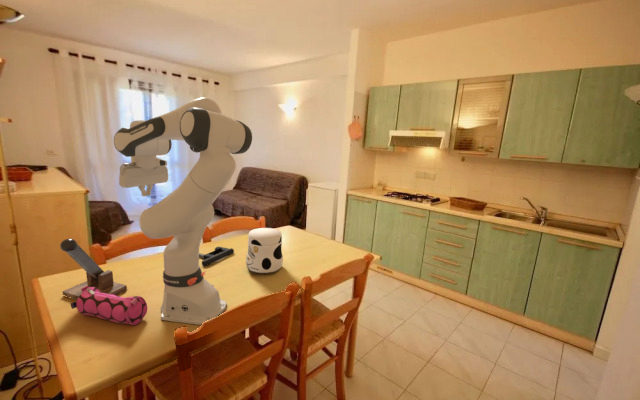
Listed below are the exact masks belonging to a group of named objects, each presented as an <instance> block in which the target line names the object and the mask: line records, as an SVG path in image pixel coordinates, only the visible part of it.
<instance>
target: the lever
mask: <svg viewBox="0 0 640 400" xmlns="http://www.w3.org/2000/svg"><path fill="white" fill-rule="evenodd" d="M59 247H60V249H61V250H62V251H63V252H65V253H66V254H67V255H68V256H69V257H70V258H72V260H73V261H75V263H76V264H78V265H79V266H80V267H81V268H82V269H83V270H84V271H85V273H86V272H87V273H88V274H89V275H90V276H91V277H92V278H93V279H94V280H95V281H98V274H101V273H103V272H105V271H104V270H103V269H102V268H101V267H100V266H99V265H98V263H96V261H94V260H93V259H92V258H91V256H90V255H89V254H88V253H86V251H85V250H84V249H83V248H82V247H81V246H80V245H79V244H78V242H77V241H76V240H75V239H73V238H66V239H63V240H62V241H61V242H60V245H59ZM98 282H99V281H98Z"/></svg>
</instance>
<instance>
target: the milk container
mask: <svg viewBox="0 0 640 400" xmlns="http://www.w3.org/2000/svg"><path fill="white" fill-rule="evenodd" d="M247 239H248V240H247V247H248V248H247V254H246V257H245V264H246V267H247V269H248V270H249V272H251V273H255V274H261V275H262V274H263V275H266V274H267V275H268V274H272V273H275V272H278V271H279V270H280V269H281V267H282V266H283V263H284V262H283V261H284V255H283V253H282V243H283V242H282V239H283V238H282V231H280V230H279V229H276V228H272V227H259V228H254V229H251V230H250V231H249V232H248V235H247Z"/></svg>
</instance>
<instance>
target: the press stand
mask: <svg viewBox="0 0 640 400" xmlns="http://www.w3.org/2000/svg"><path fill="white" fill-rule="evenodd" d="M85 273H86V281H84V282H82V283H79V284H76V285H74V286H72V287H70V288H67V289H65V290H63V291H62V296H63V295H65V296H67V297H71V298H73V299H76V300H75V301H77V299H78V297H79V296H80V294H81V293H83V292H82V290H81V288H83V287H85V286H88V287H95V288H97V289H98V290H99V291H100V292H101V293H108V294H113V295H116V296H119V295H120V294H122V293H124V292H126V291H127V290H128V287H127V284H123V283H119V282H117V281H116V282H115V281H114V274H113V270H109V269H108V270H106V271H104V272H103V273H101V274H98V281H99V282H98V281H95V280H94V279H93V278H92V277H91V276H90V275H89V274H88V273H87V272H86V271H85ZM67 297H66V298H67ZM73 299H72V300H73Z"/></svg>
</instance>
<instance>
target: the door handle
mask: <svg viewBox="0 0 640 400" xmlns="http://www.w3.org/2000/svg"><path fill="white" fill-rule="evenodd" d="M234 252H235V249H234V248H228V247H223V246H216V247H215V248H214V250H212V251H210V252H208V253H206V254H204V253H200V252H199V259H203V260H202V261H201V265H202V267H206V266H209V265H212V264H213V263H217V262H219V261H221V260H223V259H225V258H228V256H229V257H230V256H231V255H233V254H234Z"/></svg>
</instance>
